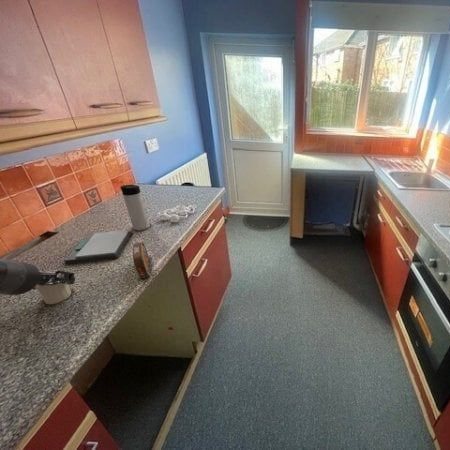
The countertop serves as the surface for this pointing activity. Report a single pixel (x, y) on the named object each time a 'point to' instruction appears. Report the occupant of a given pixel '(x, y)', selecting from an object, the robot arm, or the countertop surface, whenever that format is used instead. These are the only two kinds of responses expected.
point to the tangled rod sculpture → (174, 217)
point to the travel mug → (135, 207)
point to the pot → (54, 292)
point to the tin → (141, 259)
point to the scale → (99, 247)
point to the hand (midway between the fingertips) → (55, 282)
